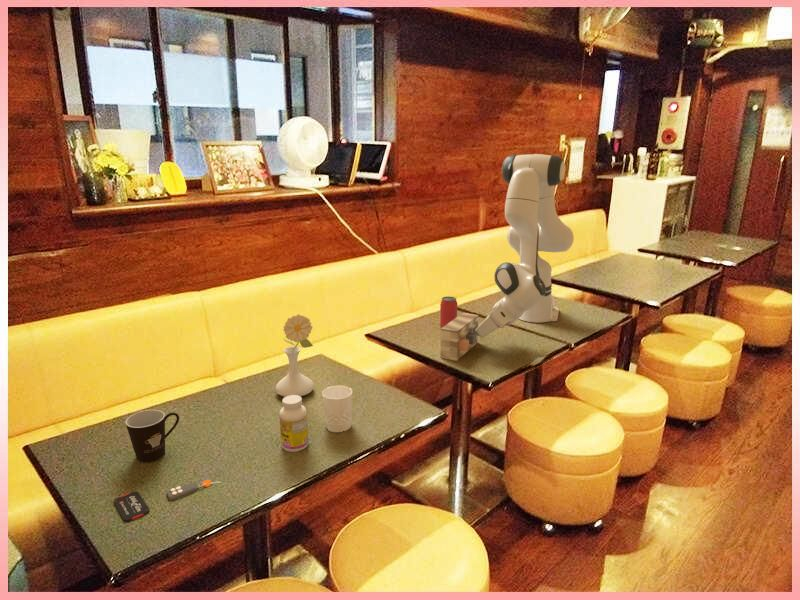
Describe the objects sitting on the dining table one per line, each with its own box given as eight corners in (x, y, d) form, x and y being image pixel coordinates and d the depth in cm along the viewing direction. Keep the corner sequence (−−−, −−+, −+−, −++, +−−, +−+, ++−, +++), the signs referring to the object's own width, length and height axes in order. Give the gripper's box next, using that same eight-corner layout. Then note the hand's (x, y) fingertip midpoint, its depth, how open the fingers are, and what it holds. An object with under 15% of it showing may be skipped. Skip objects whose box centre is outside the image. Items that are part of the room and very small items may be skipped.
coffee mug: (131, 468, 130) (124, 430, 127) (131, 450, 138) (125, 413, 135) (184, 457, 135) (179, 420, 132) (182, 439, 142) (177, 404, 139)
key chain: (170, 503, 119) (169, 498, 118) (166, 495, 122) (165, 489, 121) (230, 482, 126) (230, 476, 125) (225, 474, 129) (224, 468, 128)
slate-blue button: (470, 333, 204) (471, 326, 203) (478, 335, 202) (478, 327, 201) (467, 336, 201) (467, 328, 200) (475, 337, 200) (475, 330, 199)
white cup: (320, 422, 150) (318, 388, 147) (348, 416, 153) (346, 383, 150) (328, 436, 143) (326, 401, 140) (357, 430, 146) (356, 395, 143)
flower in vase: (267, 396, 165) (261, 316, 157) (290, 381, 175) (285, 304, 167) (304, 405, 159) (299, 322, 152) (326, 389, 169) (322, 310, 162)
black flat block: (112, 499, 119) (136, 489, 122) (112, 501, 119) (137, 492, 122) (124, 522, 112) (150, 511, 115) (125, 525, 112) (151, 514, 115)
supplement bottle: (278, 442, 141) (274, 396, 137) (303, 435, 144) (300, 390, 140) (286, 455, 135) (283, 408, 131) (312, 448, 138) (309, 401, 134)
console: (462, 339, 208) (463, 312, 205) (477, 342, 205) (478, 315, 202) (440, 357, 192) (440, 328, 189) (456, 360, 189) (457, 331, 186)
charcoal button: (468, 340, 197) (468, 332, 197) (476, 341, 196) (476, 333, 195) (464, 343, 195) (465, 335, 194) (472, 344, 194) (473, 336, 193)
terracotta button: (460, 346, 192) (460, 338, 191) (468, 348, 191) (469, 339, 190) (457, 349, 189) (457, 341, 189) (465, 351, 188) (465, 342, 187)
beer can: (457, 330, 217) (458, 301, 213) (440, 330, 217) (440, 301, 214) (456, 324, 223) (456, 296, 220) (439, 324, 223) (440, 296, 220)
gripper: (510, 296, 202) (483, 318, 209) (490, 312, 185) (461, 335, 192) (521, 310, 201) (494, 331, 209) (502, 327, 184) (473, 349, 191)
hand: (478, 333), depth 200 cm, fingers closed, pressing on slate-blue button
